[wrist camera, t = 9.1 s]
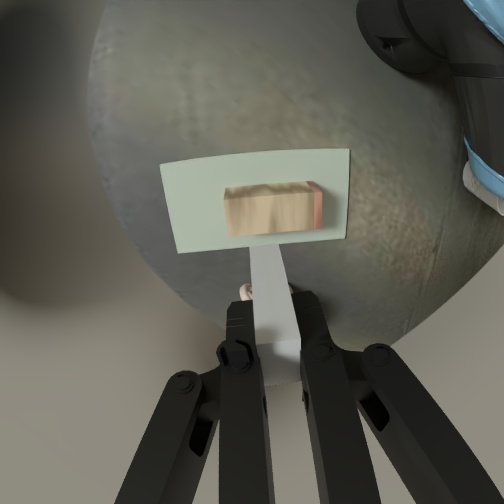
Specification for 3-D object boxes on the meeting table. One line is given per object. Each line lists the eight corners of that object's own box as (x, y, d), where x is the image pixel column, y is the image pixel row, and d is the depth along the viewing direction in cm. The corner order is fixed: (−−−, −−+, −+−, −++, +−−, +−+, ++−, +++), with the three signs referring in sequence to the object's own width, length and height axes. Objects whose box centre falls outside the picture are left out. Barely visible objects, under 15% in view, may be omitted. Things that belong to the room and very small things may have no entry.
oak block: (225, 187, 37) (312, 180, 37) (229, 220, 39) (312, 213, 39) (223, 199, 33) (322, 192, 33) (228, 236, 35) (321, 228, 35)
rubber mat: (348, 148, 35) (349, 148, 35) (344, 236, 42) (345, 238, 42) (160, 164, 35) (159, 164, 35) (178, 252, 42) (178, 253, 42)
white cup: (476, 199, 39) (509, 221, 30) (454, 184, 38) (491, 206, 29) (489, 164, 35) (525, 182, 27) (468, 146, 34) (507, 162, 25)
